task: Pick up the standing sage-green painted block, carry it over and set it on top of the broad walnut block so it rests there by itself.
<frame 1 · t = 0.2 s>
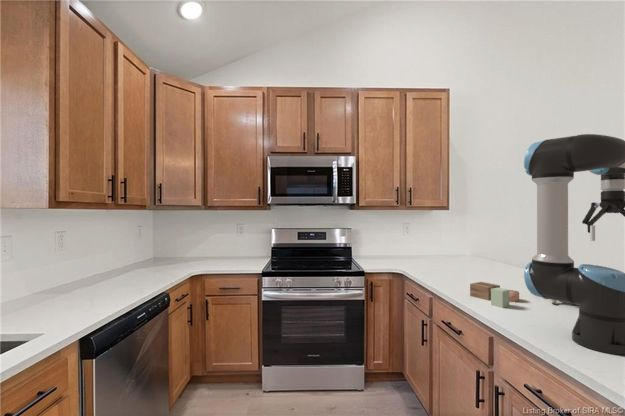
hand: (612, 242, 138), 28 cm above the worktop, tool pointing down, fingers open, 13 cm apart
walnut block: (484, 297, 158), on the worktop
brown rounded block: (510, 300, 152), on the worktop
green block: (500, 305, 143), on the worktop
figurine: (563, 302, 151), on the worktop
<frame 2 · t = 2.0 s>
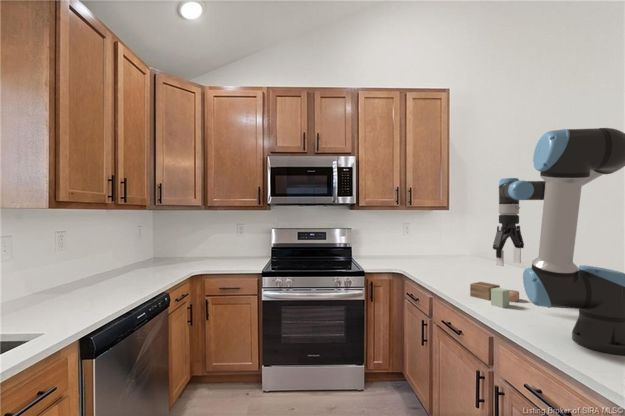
hand: (508, 264, 143), 18 cm above the worktop, tool pointing down, fingers open, 13 cm apart
nothing on the worktop moved.
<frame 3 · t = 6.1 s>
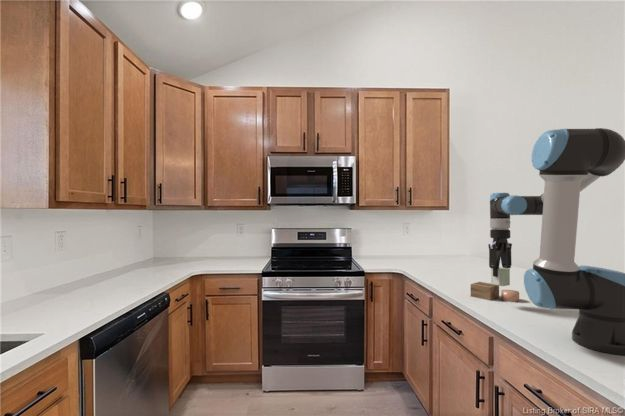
hand: (500, 283, 143), 9 cm above the worktop, tool pointing down, fingers closed on green block, 5 cm apart
green block: (500, 284, 143), point 9 cm above the worktop, touching gripper
everything else where it was.
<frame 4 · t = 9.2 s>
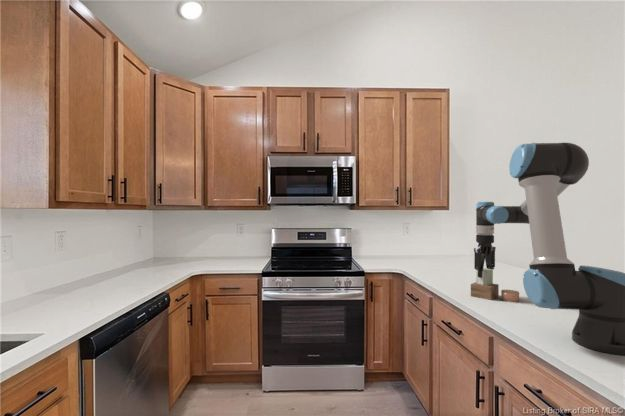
hand: (484, 283, 158), 6 cm above the worktop, tool pointing down, fingers closed on green block, 5 cm apart
walnut block: (484, 296, 158), on the worktop, touching gripper
green block: (484, 283, 159), point 6 cm above the worktop, touching gripper
everything else where it was.
when the fingers open (6 cm above the worktop, at t = 9.8 s): green block stays where it is, resting on walnut block.
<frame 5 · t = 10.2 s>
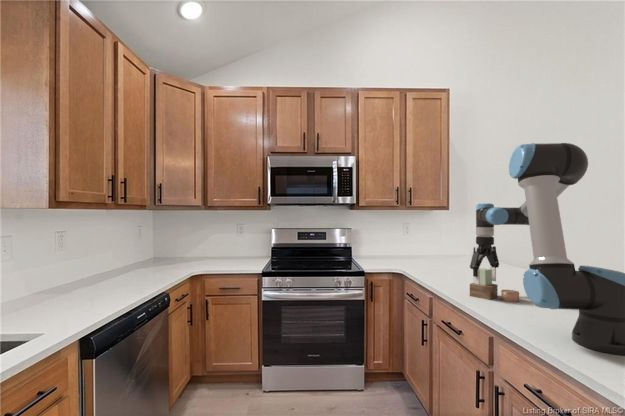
hand: (484, 282, 158), 7 cm above the worktop, tool pointing down, fingers open, 12 cm apart
walnut block: (483, 296, 158), on the worktop, touching green block
green block: (483, 283, 159), point 6 cm above the worktop, touching walnut block
everything else where it was.
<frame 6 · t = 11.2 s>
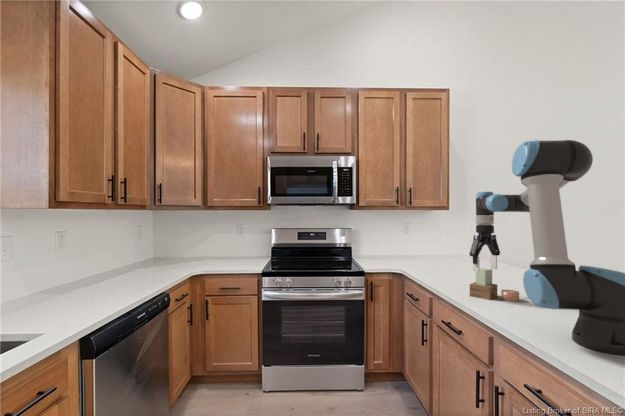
hand: (485, 270, 157), 13 cm above the worktop, tool pointing down, fingers open, 13 cm apart
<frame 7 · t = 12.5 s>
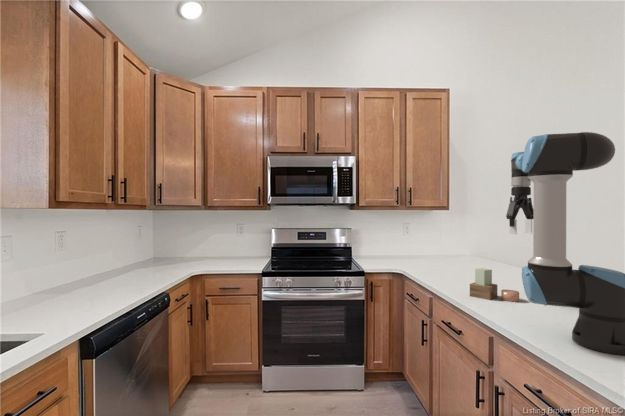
hand: (521, 233, 151), 30 cm above the worktop, tool pointing down, fingers open, 13 cm apart
walnut block: (483, 296, 158), on the worktop
green block: (483, 284, 159), point 6 cm above the worktop
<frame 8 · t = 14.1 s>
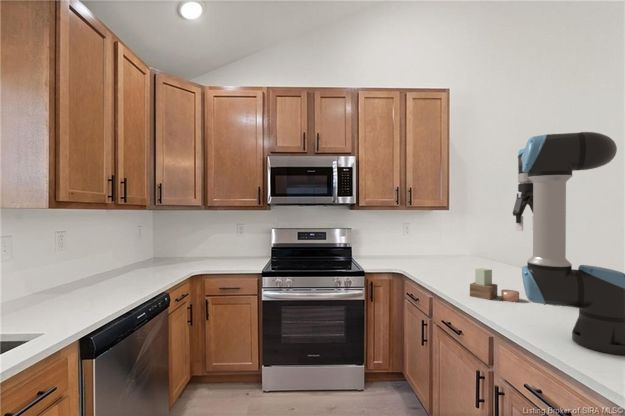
hand: (527, 230, 151), 32 cm above the worktop, tool pointing down, fingers open, 13 cm apart
walnut block: (483, 296, 158), on the worktop, touching green block
green block: (483, 284, 158), point 6 cm above the worktop, touching walnut block
at the end: green block inside the target area on the walnut block (0.2 cm from its centre), point 6.0 cm above the walnut block's base; green block tilted 0°; the gripper is holding nothing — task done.
